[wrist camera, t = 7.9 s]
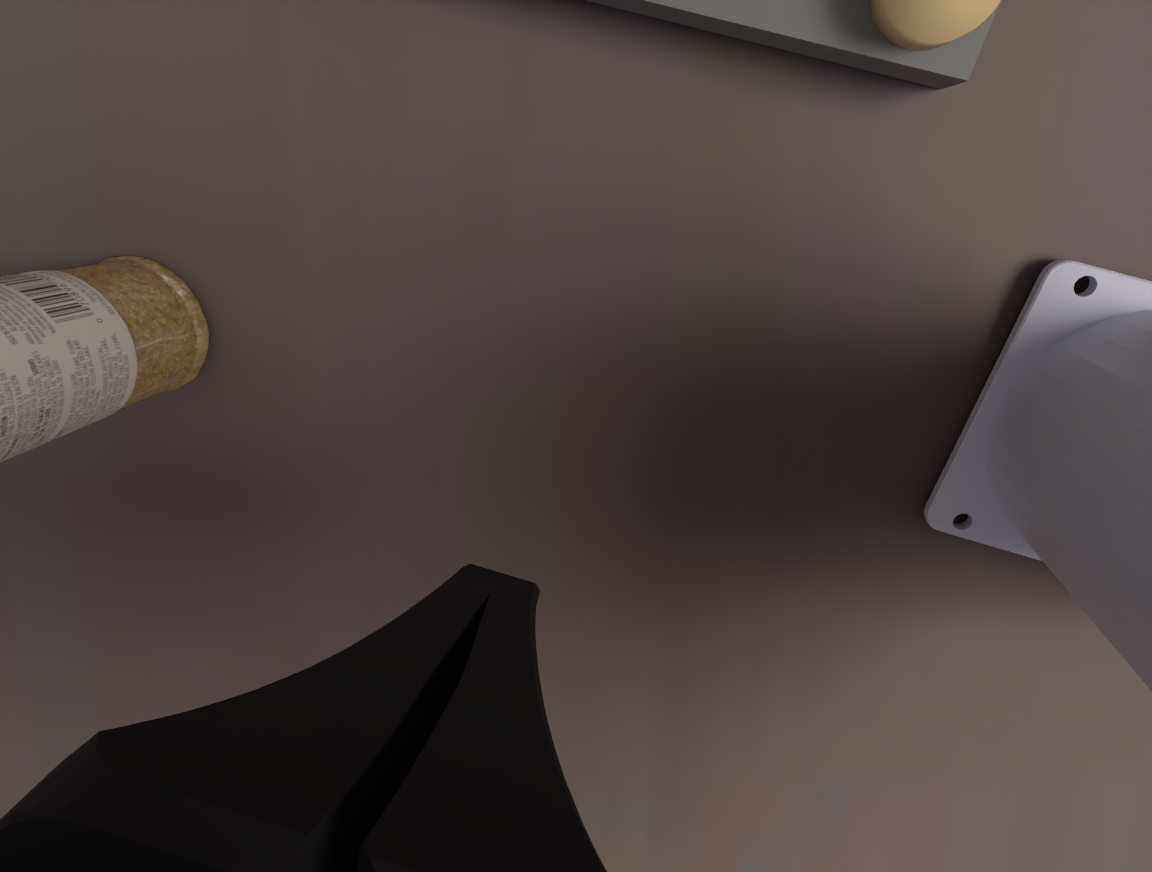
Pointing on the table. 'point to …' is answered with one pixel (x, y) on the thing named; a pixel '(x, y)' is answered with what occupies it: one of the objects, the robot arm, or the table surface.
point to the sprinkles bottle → (91, 345)
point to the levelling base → (848, 31)
